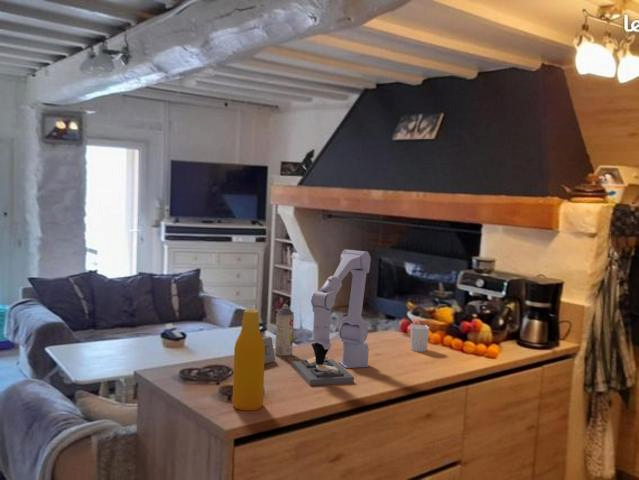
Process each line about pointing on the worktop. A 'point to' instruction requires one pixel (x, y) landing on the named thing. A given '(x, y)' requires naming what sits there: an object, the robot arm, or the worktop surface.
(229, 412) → the worktop surface
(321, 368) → the front rocker
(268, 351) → the electrical switch
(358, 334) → the robot arm
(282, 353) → the aerosol can
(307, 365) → the breaker panel
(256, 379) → the beer bottle
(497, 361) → the worktop surface
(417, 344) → the white cup
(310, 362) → the back rocker
